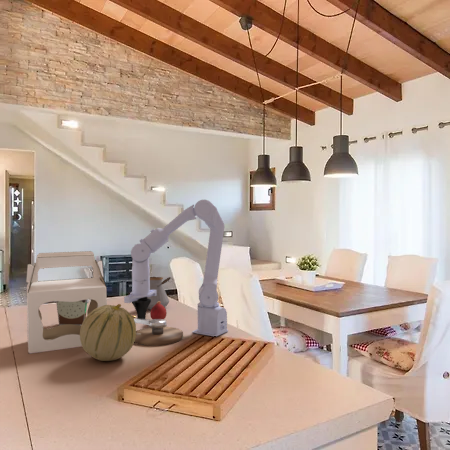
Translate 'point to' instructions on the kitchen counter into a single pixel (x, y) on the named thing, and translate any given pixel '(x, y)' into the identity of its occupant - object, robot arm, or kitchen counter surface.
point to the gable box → (61, 298)
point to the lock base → (158, 336)
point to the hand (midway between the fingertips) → (141, 320)
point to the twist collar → (151, 322)
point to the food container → (71, 312)
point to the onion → (158, 311)
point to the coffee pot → (158, 292)
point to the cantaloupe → (108, 332)
